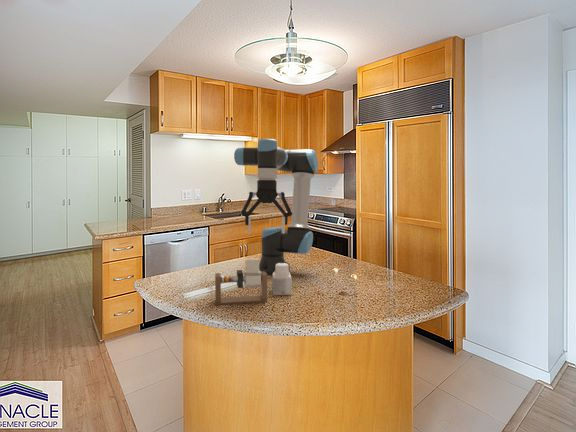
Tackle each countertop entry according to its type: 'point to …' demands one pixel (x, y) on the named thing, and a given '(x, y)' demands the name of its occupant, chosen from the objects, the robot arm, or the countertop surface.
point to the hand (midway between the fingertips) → (266, 233)
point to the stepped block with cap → (252, 273)
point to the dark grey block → (240, 279)
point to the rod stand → (241, 299)
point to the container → (281, 279)
